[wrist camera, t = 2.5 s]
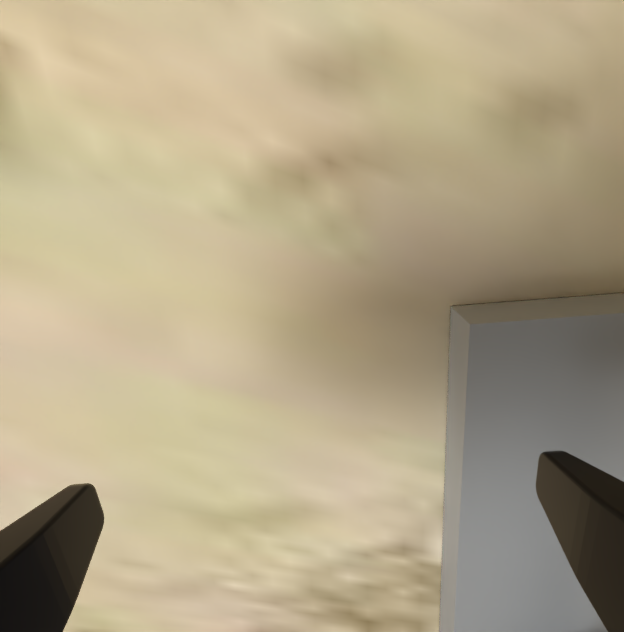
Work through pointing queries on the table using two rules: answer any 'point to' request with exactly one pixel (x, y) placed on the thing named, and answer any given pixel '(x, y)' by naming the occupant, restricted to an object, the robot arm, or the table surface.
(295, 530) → the table surface
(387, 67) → the table surface
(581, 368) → the base board
